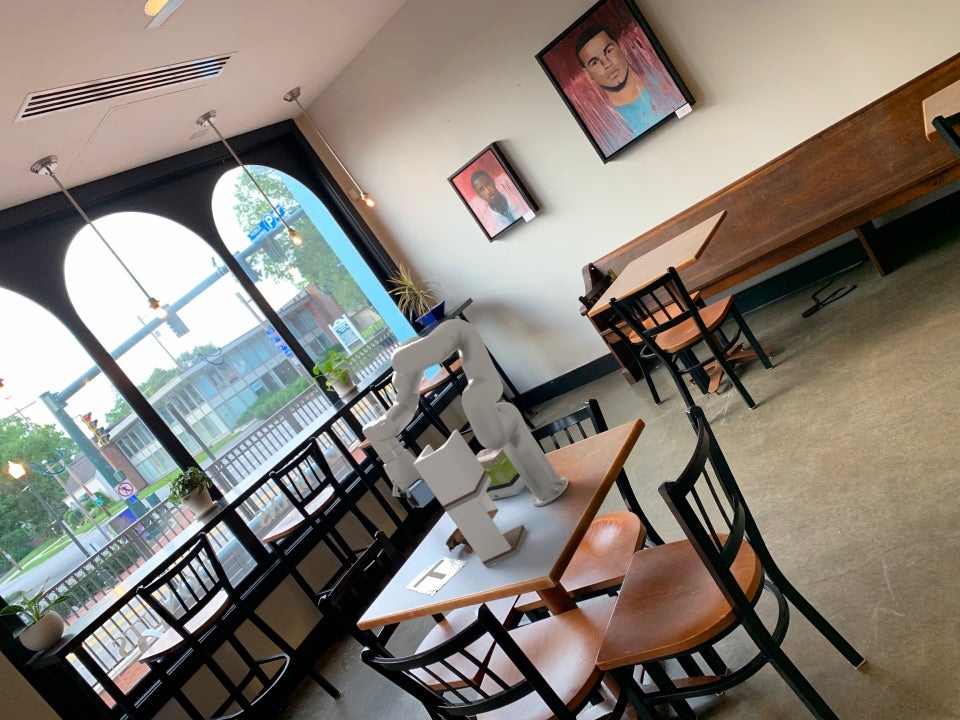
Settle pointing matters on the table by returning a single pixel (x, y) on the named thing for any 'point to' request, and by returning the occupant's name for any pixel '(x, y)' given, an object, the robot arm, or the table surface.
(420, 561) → the table surface
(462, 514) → the notched white pillar
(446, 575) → the letter mat
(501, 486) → the tea box
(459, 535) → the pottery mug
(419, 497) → the slate blue cube
